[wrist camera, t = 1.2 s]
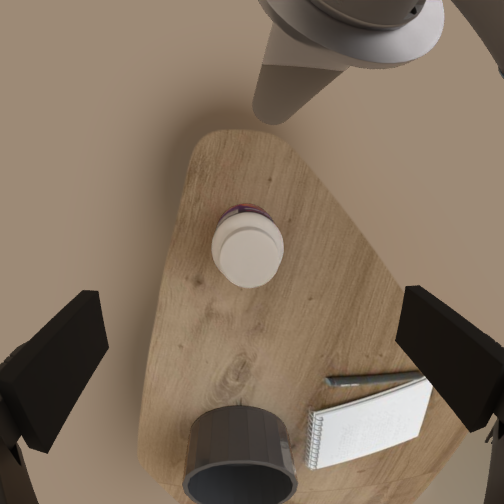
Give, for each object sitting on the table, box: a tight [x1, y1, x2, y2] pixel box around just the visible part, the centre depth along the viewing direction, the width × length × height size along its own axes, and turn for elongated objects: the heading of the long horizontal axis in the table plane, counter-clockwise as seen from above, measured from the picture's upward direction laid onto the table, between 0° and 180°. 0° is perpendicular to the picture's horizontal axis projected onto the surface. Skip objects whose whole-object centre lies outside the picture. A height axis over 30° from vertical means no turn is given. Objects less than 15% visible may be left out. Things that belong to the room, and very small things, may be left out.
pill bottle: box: [211, 204, 284, 288], centre depth 26 cm, size 5×5×10 cm
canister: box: [182, 406, 298, 504], centre depth 33 cm, size 13×13×9 cm
